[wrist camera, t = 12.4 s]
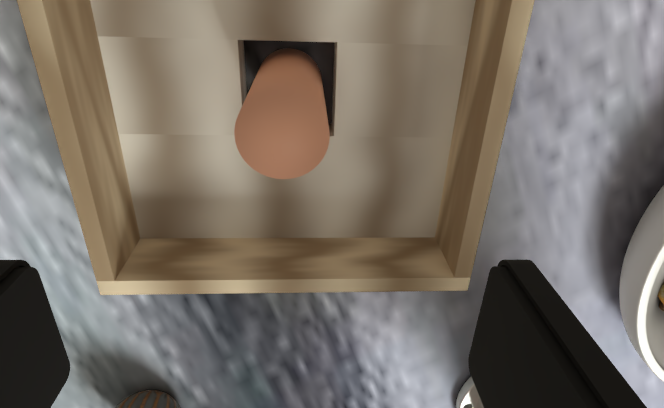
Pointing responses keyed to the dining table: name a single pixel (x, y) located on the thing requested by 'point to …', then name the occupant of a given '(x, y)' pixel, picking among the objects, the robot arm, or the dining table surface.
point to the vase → (149, 400)
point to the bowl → (646, 287)
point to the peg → (284, 117)
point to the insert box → (259, 190)
